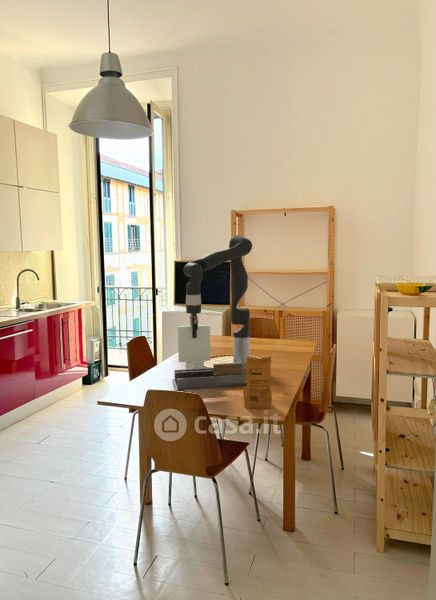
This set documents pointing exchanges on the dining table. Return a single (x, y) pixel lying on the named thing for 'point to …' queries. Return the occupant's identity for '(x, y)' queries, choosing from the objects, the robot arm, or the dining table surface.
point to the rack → (205, 379)
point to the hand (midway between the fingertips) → (194, 337)
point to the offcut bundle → (227, 369)
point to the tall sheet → (194, 344)
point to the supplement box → (194, 364)
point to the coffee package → (258, 383)
